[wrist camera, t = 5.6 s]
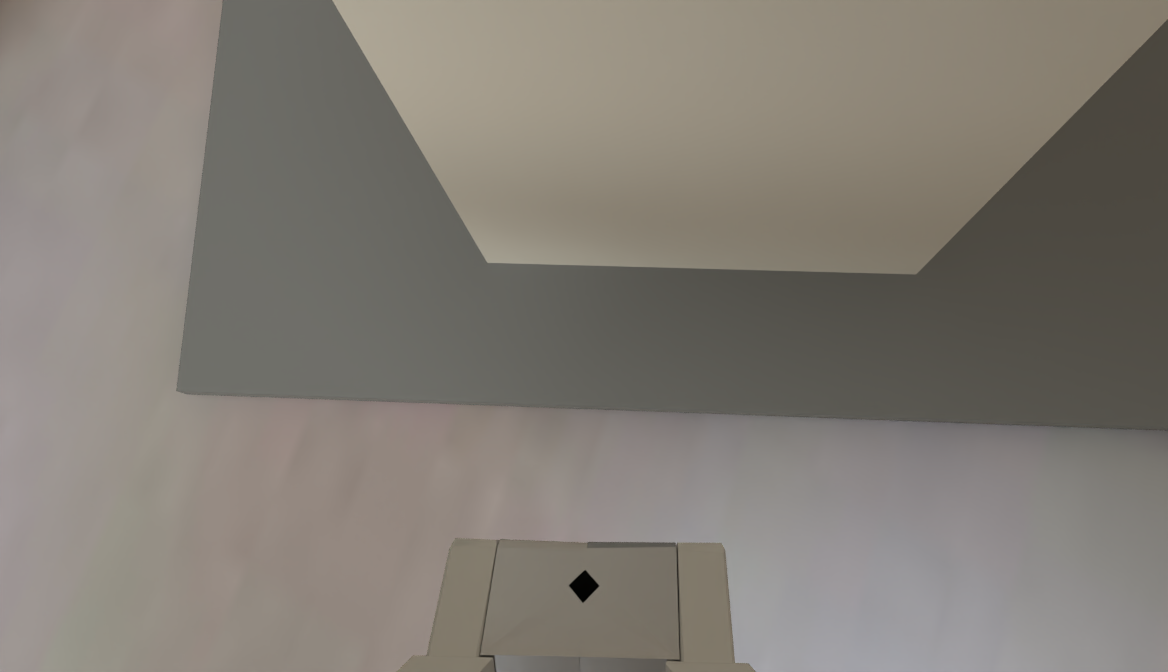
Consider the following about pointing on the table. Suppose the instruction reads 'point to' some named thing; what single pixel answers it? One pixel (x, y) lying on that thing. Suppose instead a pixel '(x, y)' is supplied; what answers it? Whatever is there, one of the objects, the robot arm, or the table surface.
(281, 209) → the mat
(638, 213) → the block
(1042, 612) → the table surface
